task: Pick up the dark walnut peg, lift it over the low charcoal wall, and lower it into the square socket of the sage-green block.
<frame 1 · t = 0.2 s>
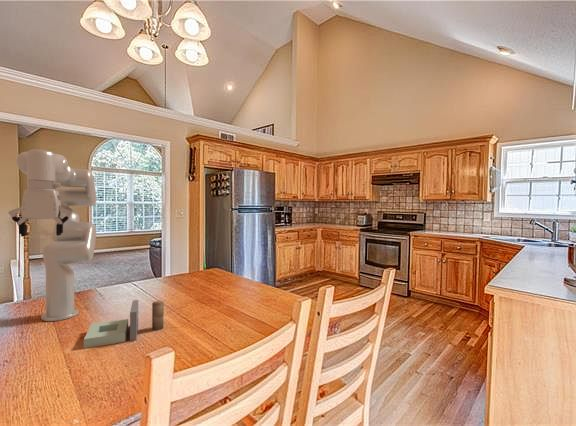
hand: (41, 235, 102), 36 cm above the table, fingers open, 9 cm apart
walnut peg: (157, 328, 114), on the table
socket block: (107, 336, 106), on the table
low wall: (134, 332, 110), on the table
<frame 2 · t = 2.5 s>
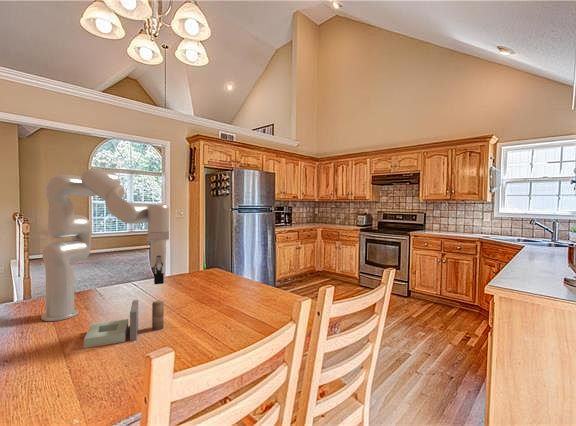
hand: (158, 280, 114), 18 cm above the table, fingers open, 9 cm apart
nothing on the table moved.
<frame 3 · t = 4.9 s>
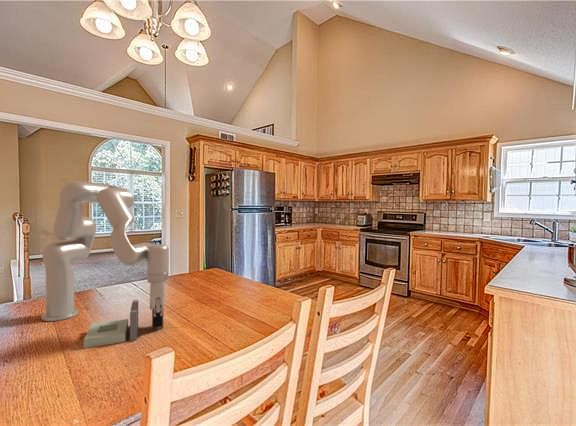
hand: (157, 323, 114), 2 cm above the table, fingers closed on walnut peg, 4 cm apart
walnut peg: (157, 328, 114), on the table, touching gripper
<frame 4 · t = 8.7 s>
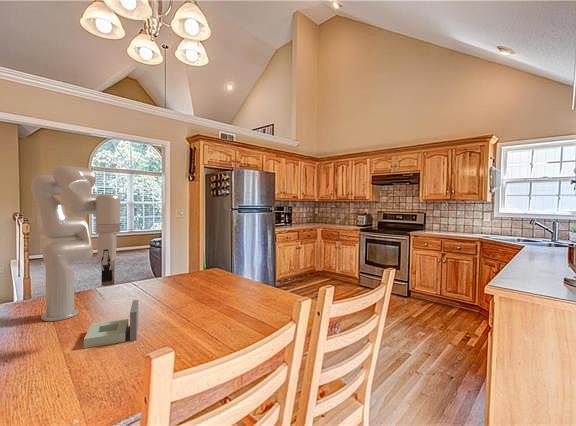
hand: (108, 279, 106), 21 cm above the table, fingers closed on walnut peg, 4 cm apart
walnut peg: (108, 284, 106), point 19 cm above the table, touching gripper
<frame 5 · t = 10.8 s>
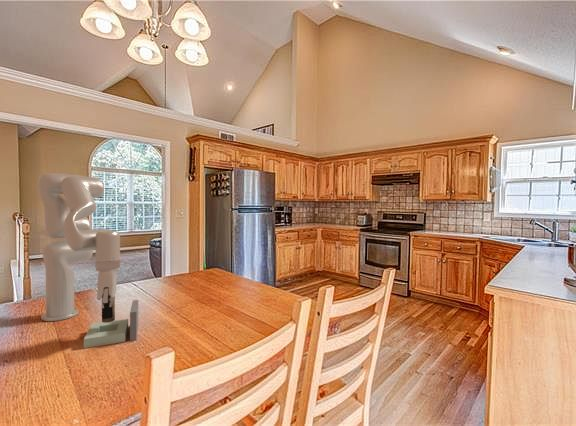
hand: (108, 315, 106), 8 cm above the table, fingers closed on walnut peg, 4 cm apart
walnut peg: (108, 320, 106), point 6 cm above the table, touching gripper
when the fingers open (4 cm above the table, at t = 12.4 s): walnut peg drops 2 cm, resting in socket block.
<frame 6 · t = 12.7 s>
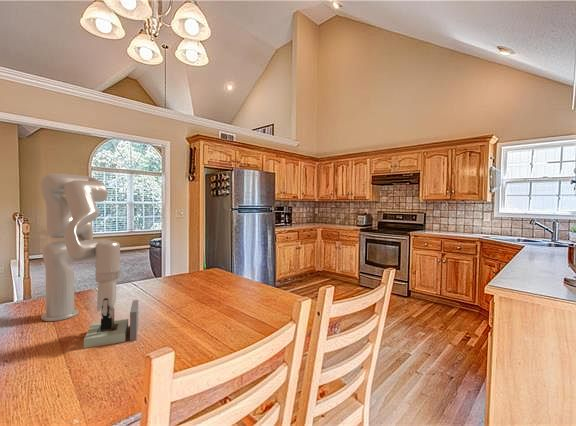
hand: (107, 324, 106), 4 cm above the table, fingers open, 6 cm apart
walnut peg: (107, 336, 106), resting in socket block
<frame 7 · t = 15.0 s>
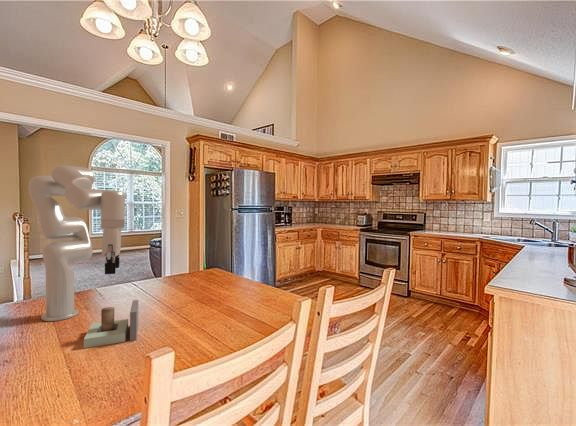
hand: (112, 270, 109), 23 cm above the table, fingers open, 9 cm apart
nothing on the table moved.
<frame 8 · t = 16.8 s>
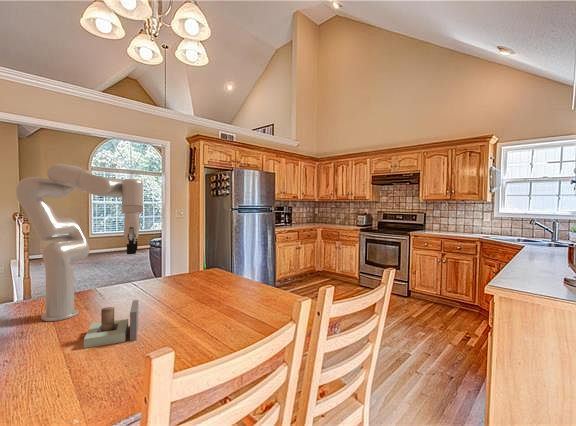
hand: (132, 252, 119), 28 cm above the table, fingers open, 9 cm apart
nothing on the table moved.
at the end: walnut peg 0.0 cm off-centre on the socket block, point 0.0 cm above the socket block's base; walnut peg tilted 0°; the gripper is holding nothing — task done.
